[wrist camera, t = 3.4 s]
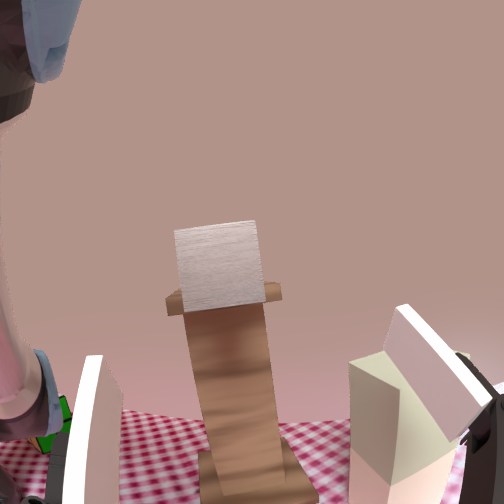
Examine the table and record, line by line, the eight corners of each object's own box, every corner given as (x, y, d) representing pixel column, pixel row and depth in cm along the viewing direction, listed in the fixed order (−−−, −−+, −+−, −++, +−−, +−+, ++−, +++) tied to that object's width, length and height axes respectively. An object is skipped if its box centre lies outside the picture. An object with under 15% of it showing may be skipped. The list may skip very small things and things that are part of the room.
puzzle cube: (58, 424, 46) (45, 384, 46) (81, 438, 42) (65, 394, 42) (24, 437, 37) (8, 395, 37) (43, 455, 33) (24, 409, 33)
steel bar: (265, 301, 14) (255, 220, 15) (184, 312, 14) (174, 230, 14) (235, 281, 42) (231, 253, 42) (207, 284, 42) (203, 256, 42)
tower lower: (438, 507, 17) (456, 447, 18) (378, 541, 16) (390, 486, 16) (402, 478, 25) (410, 420, 25) (347, 503, 24) (350, 446, 24)
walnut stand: (319, 502, 25) (301, 279, 26) (204, 525, 22) (142, 301, 24) (284, 443, 41) (263, 277, 42) (200, 458, 38) (164, 290, 40)
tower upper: (456, 447, 18) (470, 354, 18) (390, 486, 16) (400, 389, 17) (411, 420, 25) (414, 339, 26) (350, 446, 24) (348, 362, 25)
